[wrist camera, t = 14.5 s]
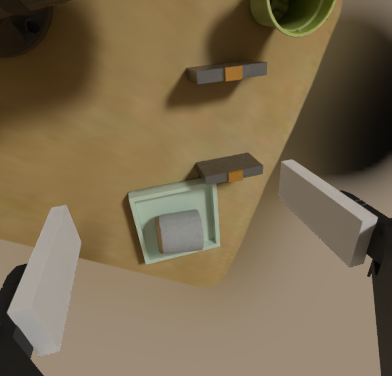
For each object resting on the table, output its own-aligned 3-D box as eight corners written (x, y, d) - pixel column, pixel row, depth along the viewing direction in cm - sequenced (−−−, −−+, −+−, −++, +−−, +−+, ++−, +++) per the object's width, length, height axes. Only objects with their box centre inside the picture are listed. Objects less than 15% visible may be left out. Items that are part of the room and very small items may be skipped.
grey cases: (197, 170, 48) (207, 187, 42) (186, 67, 39) (197, 71, 34) (248, 160, 50) (264, 175, 44) (248, 59, 41) (268, 62, 35)
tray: (145, 256, 54) (146, 264, 52) (128, 192, 47) (128, 199, 45) (216, 238, 57) (220, 246, 55) (212, 175, 49) (216, 181, 47)
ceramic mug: (152, 208, 49) (156, 234, 42) (195, 201, 50) (206, 225, 44) (157, 250, 54) (162, 279, 47) (196, 243, 55) (206, 270, 49)
